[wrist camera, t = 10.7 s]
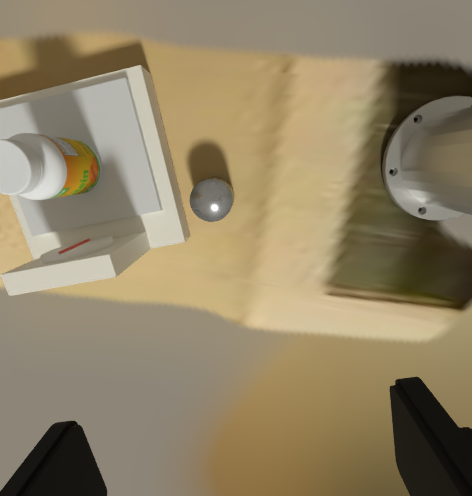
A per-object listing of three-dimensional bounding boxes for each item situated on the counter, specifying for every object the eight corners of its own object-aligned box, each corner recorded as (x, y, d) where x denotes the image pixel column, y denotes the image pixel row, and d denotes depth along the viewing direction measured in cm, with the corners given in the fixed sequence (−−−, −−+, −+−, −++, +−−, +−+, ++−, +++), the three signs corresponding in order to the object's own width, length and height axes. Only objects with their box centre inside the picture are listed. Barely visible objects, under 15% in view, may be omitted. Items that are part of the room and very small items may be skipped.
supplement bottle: (84, 204, 32) (16, 219, 23) (43, 169, 32) (-46, 170, 22) (113, 165, 31) (53, 164, 22) (70, 128, 30) (-11, 111, 21)
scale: (150, 73, 32) (93, 22, 21) (190, 236, 37) (161, 268, 25) (-2, 111, 34) (-133, 84, 23) (53, 261, 39) (-32, 303, 27)
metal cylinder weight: (230, 174, 35) (227, 175, 31) (237, 211, 36) (235, 217, 32) (192, 181, 35) (185, 183, 31) (201, 218, 36) (195, 225, 32)
